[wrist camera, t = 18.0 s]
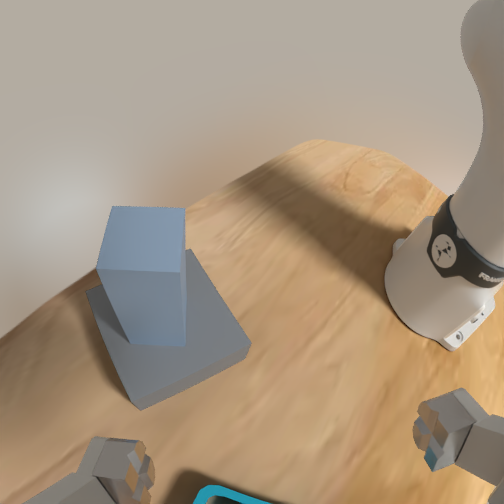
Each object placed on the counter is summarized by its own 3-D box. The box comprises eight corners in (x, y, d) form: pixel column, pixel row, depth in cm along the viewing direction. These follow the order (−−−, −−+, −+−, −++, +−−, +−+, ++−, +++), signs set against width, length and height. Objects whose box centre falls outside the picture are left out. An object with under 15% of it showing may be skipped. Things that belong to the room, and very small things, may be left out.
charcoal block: (190, 274, 38) (190, 248, 34) (244, 359, 32) (251, 342, 28) (97, 313, 32) (85, 291, 29) (141, 411, 27) (131, 402, 23)
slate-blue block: (186, 297, 30) (185, 208, 21) (185, 346, 27) (180, 272, 18) (135, 295, 29) (112, 206, 20) (130, 343, 26) (95, 268, 17)
